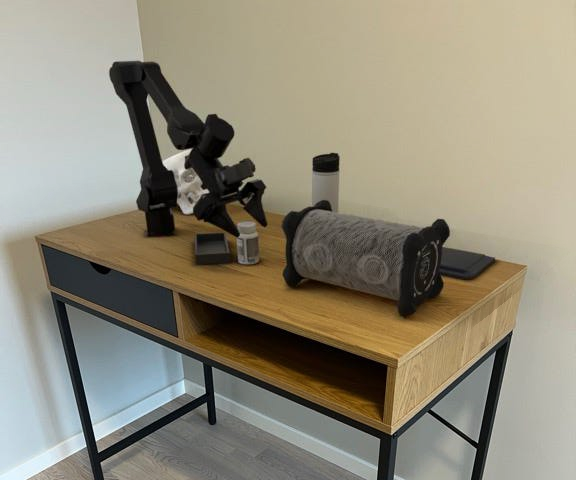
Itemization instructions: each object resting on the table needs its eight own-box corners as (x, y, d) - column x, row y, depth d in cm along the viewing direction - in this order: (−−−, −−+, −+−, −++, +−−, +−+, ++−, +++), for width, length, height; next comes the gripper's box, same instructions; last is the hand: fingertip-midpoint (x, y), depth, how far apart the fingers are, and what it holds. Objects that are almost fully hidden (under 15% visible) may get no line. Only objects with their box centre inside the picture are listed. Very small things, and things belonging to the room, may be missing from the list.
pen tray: (230, 262, 131) (229, 252, 130) (196, 264, 130) (195, 254, 129) (226, 241, 145) (225, 232, 144) (195, 243, 144) (194, 233, 143)
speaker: (408, 323, 103) (417, 238, 95) (279, 288, 118) (277, 212, 110) (444, 296, 113) (455, 217, 106) (321, 267, 128) (322, 196, 121)
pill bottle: (260, 258, 134) (259, 221, 130) (257, 265, 130) (256, 227, 125) (240, 257, 134) (238, 220, 130) (236, 264, 130) (233, 226, 126)
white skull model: (201, 213, 160) (172, 144, 156) (161, 236, 174) (134, 173, 170) (235, 203, 169) (209, 138, 165) (195, 226, 183) (170, 166, 180)
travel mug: (343, 241, 144) (346, 154, 134) (325, 247, 140) (327, 158, 130) (323, 236, 148) (325, 151, 138) (306, 242, 144) (306, 155, 134)
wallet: (383, 254, 129) (415, 237, 140) (382, 262, 130) (414, 245, 141) (470, 272, 119) (498, 253, 129) (468, 281, 120) (496, 261, 130)
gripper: (197, 152, 115) (243, 218, 115) (258, 140, 128) (299, 199, 128) (173, 189, 123) (216, 250, 123) (232, 174, 136) (271, 229, 136)
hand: (252, 231), depth 128 cm, fingers open, 9 cm apart
